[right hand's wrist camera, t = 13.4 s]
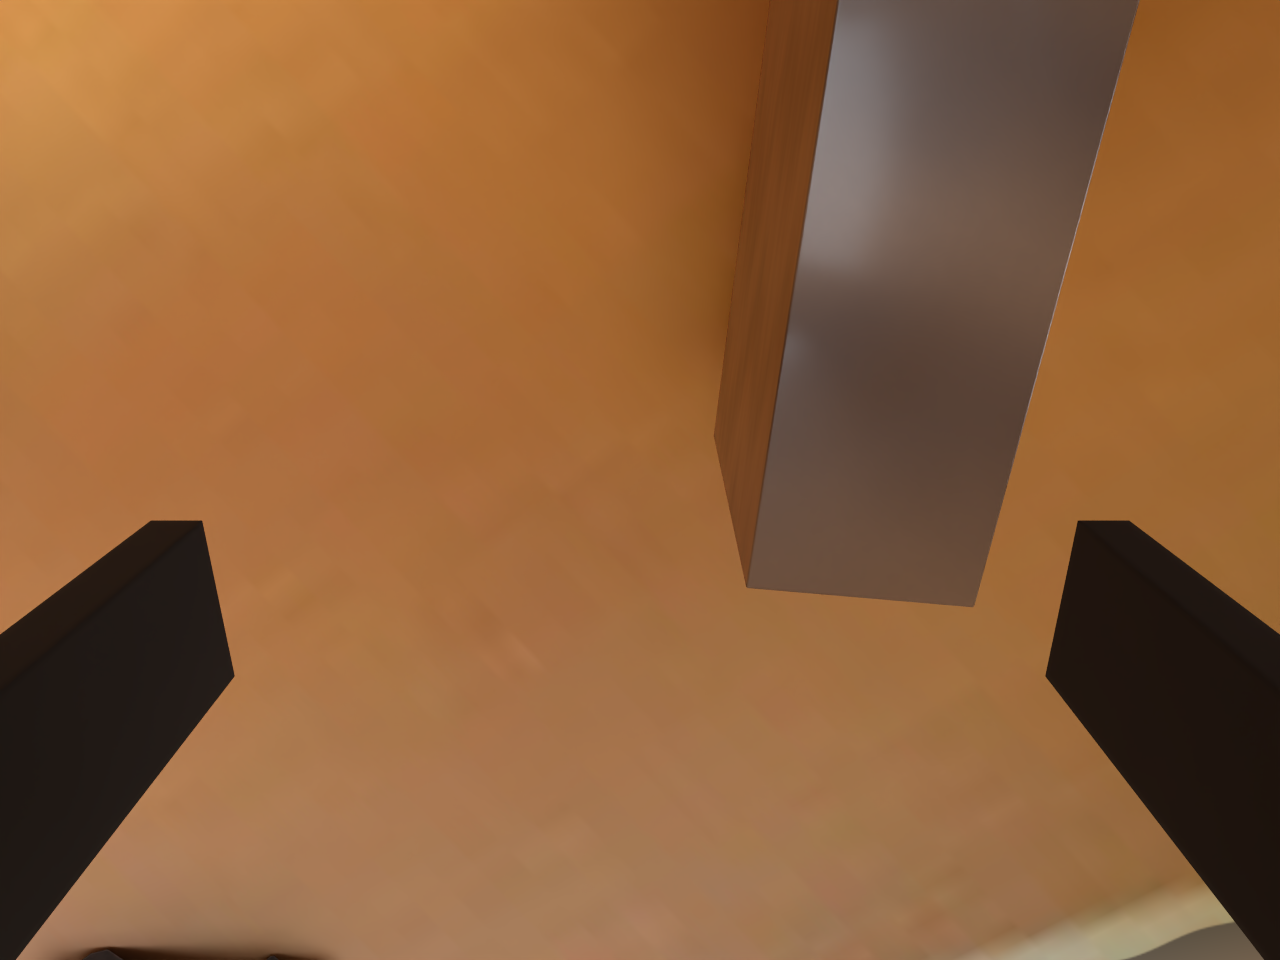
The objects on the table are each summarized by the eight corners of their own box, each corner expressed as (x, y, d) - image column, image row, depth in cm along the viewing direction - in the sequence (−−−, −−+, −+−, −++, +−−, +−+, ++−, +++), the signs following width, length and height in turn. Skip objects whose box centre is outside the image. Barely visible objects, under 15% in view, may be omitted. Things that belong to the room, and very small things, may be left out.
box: (864, 450, 34) (974, 608, 22) (713, 436, 34) (746, 588, 22) (1013, -291, 25) (1322, -662, 14) (810, -314, 25) (947, -707, 13)
